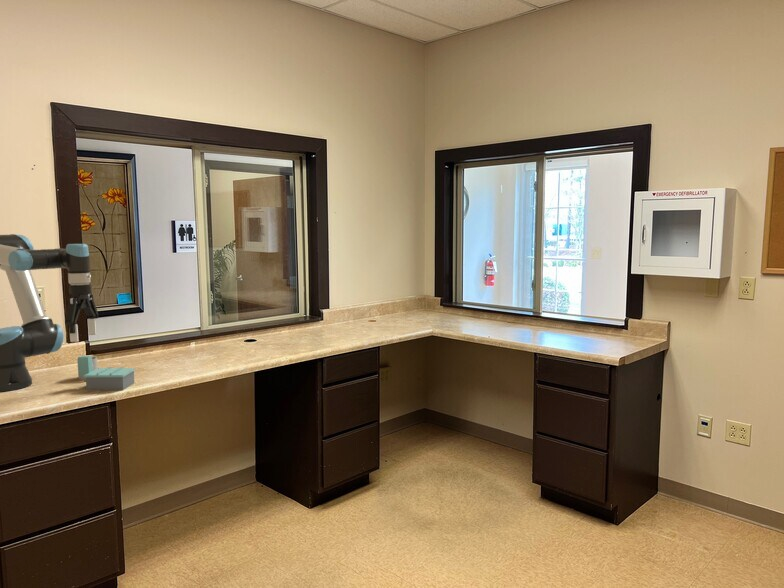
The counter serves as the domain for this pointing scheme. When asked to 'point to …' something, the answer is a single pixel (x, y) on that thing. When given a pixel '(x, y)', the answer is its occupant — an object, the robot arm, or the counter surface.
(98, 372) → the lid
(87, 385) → the tub
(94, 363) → the cup
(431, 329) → the counter surface
